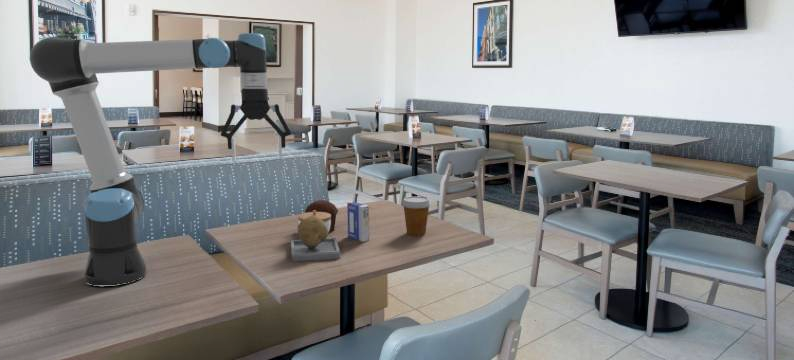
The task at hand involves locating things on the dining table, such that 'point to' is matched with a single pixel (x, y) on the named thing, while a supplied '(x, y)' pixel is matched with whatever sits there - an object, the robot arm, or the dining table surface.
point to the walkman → (358, 221)
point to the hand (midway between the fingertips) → (257, 159)
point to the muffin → (324, 210)
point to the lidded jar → (322, 215)
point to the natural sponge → (312, 231)
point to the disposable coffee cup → (416, 214)
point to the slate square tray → (315, 250)
